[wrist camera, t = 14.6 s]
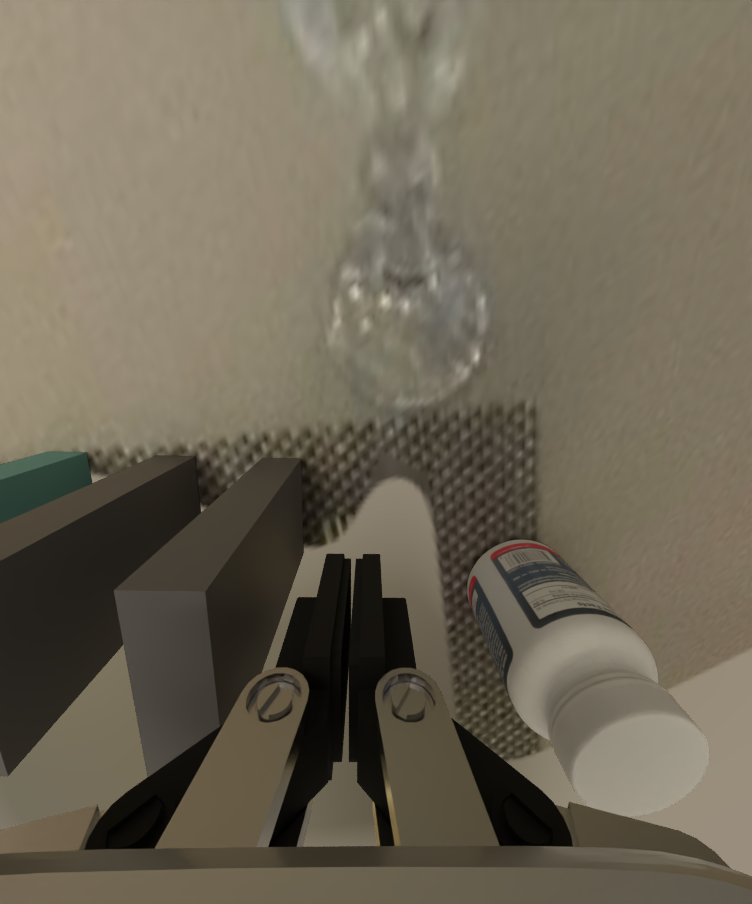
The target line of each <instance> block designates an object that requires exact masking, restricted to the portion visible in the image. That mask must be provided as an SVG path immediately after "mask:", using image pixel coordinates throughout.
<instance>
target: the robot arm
mask: <svg viewBox="0 0 752 904" xmlns="http://www.w3.org/2000/svg"><path fill="white" fill-rule="evenodd" d="M348 670H349V762H357V783H358V784H359V785H360V786H361V787H362V789H363V790H364V791H365V792H366V793H367V795H368V796H369V797H370V798H371V799H372V801H373V817H374V825H375V833H376V840H377V846H363V847H362V846H361V847H360V846H352V847H351V846H350V847H349V846H347V847H303V844H304V840H305V836H306V832H307V828H308V824H309V820H310V816H311V812H312V804H313V798H314V797H315V795H316V794H317V793H318V792H319V791H320V790H321V789H322V788H323V787H324V786H325V785H326V784H327V783H328V780H332V770H333V762H342V754H343V740H344V725H345V712H346V711H345V710H346V698H347V684H348ZM0 904H752V876H749V875H747V874H744V873H742V872H739V871H736V870H733V869H731V868H730V867H729V866H728V865H727V864H726V863H725V862H724V861H723V860H722V859H721V858H720V857H719V856H718V855H717V854H716V853H715V852H714V851H713V850H712V849H710V848H709V847H708V846H706V845H705V844H703V843H702V842H701V841H699V840H698V839H696V838H694V837H692V836H690V835H687V834H685V833H683V832H681V831H678V830H674V829H670V828H667V827H663V826H659V825H655V824H651V823H647V822H644V821H640V820H636V819H632V818H628V817H625V816H621V815H617V814H613V813H610V812H606V811H602V810H598V809H594V808H591V807H587V806H583V805H579V804H575V803H572V802H569V804H568V808H564V807H561V806H557V805H555V804H554V803H553V802H552V800H550V799H549V798H548V797H547V796H546V795H545V794H544V793H543V792H542V791H541V790H540V789H539V788H538V787H536V786H535V785H534V784H533V783H531V782H530V781H529V780H528V779H527V778H525V777H524V776H523V775H522V774H520V773H519V772H518V771H516V770H515V769H514V768H513V767H512V766H510V765H509V764H508V763H507V762H505V761H504V760H503V759H502V758H501V757H499V756H498V755H497V754H496V753H494V752H493V751H492V750H491V749H489V748H488V747H487V746H486V745H484V744H483V743H482V742H481V741H479V740H478V739H477V738H476V737H474V736H473V735H472V734H471V733H469V732H468V731H467V730H466V729H464V728H463V727H462V726H461V725H460V724H458V723H457V722H456V721H454V720H453V719H452V718H451V716H450V713H449V711H448V708H447V705H446V703H445V700H444V698H443V695H442V692H441V690H440V688H439V687H438V685H437V683H436V682H435V681H434V680H433V679H432V678H431V677H430V676H429V675H427V674H426V673H424V672H422V671H420V670H417V669H416V663H415V657H414V650H413V643H412V637H411V630H410V623H409V617H408V610H407V604H406V599H405V598H382V584H381V564H380V554H363V559H356V567H355V580H354V594H353V608H352V621H351V559H344V554H327V555H326V559H325V563H324V568H323V572H322V576H321V581H320V585H319V589H318V594H317V597H313V598H312V597H299V598H297V601H296V604H295V607H294V610H293V614H292V617H291V620H290V623H289V626H288V629H287V633H286V636H285V639H284V642H283V646H282V649H281V652H280V655H279V658H278V662H277V665H276V668H274V669H270V670H266V671H265V672H263V673H261V674H259V675H257V676H256V677H255V678H253V679H252V680H251V681H250V682H249V683H248V684H247V685H246V687H245V688H244V689H243V691H242V692H241V694H240V696H239V698H238V700H237V701H236V703H235V705H234V707H233V709H232V710H231V712H230V714H229V716H228V718H227V719H226V721H225V723H224V724H223V725H221V726H220V727H218V728H217V729H215V730H214V731H213V732H211V733H210V734H208V735H207V736H206V737H204V738H203V739H201V740H200V741H199V742H197V743H196V744H194V745H193V746H191V747H190V748H189V749H187V750H186V751H184V752H183V753H182V754H180V755H179V756H177V757H176V758H174V759H173V760H172V761H170V762H169V763H167V764H166V765H165V766H163V767H162V768H160V769H159V770H157V771H156V772H155V773H153V774H152V775H150V776H149V777H148V778H146V779H145V780H143V781H142V782H141V783H139V784H138V785H136V786H135V787H133V788H132V789H131V790H129V791H128V792H127V793H125V794H124V795H123V796H122V797H121V798H119V799H118V800H117V801H116V802H115V803H113V804H112V805H111V806H110V808H109V809H105V810H101V811H99V808H98V804H97V805H93V806H90V807H85V808H81V809H78V810H74V811H70V812H66V813H62V814H58V815H54V816H50V817H46V818H43V819H39V820H35V821H31V822H27V823H23V824H19V825H15V826H11V827H7V828H4V829H0Z"/></svg>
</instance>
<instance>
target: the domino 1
mask: <svg viewBox="0 0 752 904" xmlns="http://www.w3.org/2000/svg"><path fill="white" fill-rule="evenodd" d="M90 484H92V479H91V473H90V468H89V463H88V457H87V452H44V453H41V454H37V455H34V456H30V457H26V458H23V459H19V460H15V461H12V462H8V463H5V464H1V465H0V524H1V523H3V522H5V521H7V520H10V519H12V518H14V517H17V516H19V515H21V514H24V513H26V512H28V511H30V510H33V509H35V508H37V507H40V506H42V505H44V504H46V503H49V502H51V501H53V500H56V499H58V498H60V497H63V496H65V495H67V494H69V493H72V492H74V491H76V490H79V489H81V488H83V487H85V486H88V485H90Z"/></svg>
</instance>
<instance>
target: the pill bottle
mask: <svg viewBox="0 0 752 904" xmlns="http://www.w3.org/2000/svg"><path fill="white" fill-rule="evenodd" d="M467 595H468V600H469V603H470V605H471V608H472V611H473V613H474V615H475V618H476V620H477V623H478V625H479V627H480V630H481V632H482V634H483V637H484V639H485V641H486V644H487V646H488V649H489V651H490V653H491V655H492V658H493V660H494V662H495V665H496V667H497V670H498V672H499V674H500V676H501V679H502V681H503V683H504V686H505V688H506V690H507V693H508V695H509V697H510V699H511V701H512V703H513V705H514V707H515V709H516V711H517V713H518V714H519V716H520V717H521V718H522V720H523V721H524V722H525V723H526V724H527V725H528V726H529V727H530V728H531V729H532V730H533V731H535V732H536V733H538V734H539V735H541V736H542V737H544V738H546V739H548V740H550V742H551V745H552V746H553V749H554V751H555V754H556V756H557V758H558V759H559V761H560V763H561V765H562V767H563V769H564V771H565V773H566V775H567V777H568V779H569V781H570V783H571V785H572V787H573V789H574V791H575V792H576V794H577V795H578V796H579V798H580V799H581V800H582V801H583V802H584V803H585V804H587V805H588V806H589V807H591V808H594V809H598V810H602V811H606V812H610V813H613V814H617V815H621V816H625V817H633V816H641V815H646V814H650V813H654V812H657V811H660V810H663V809H665V808H667V807H669V806H671V805H673V804H675V803H676V802H678V801H680V800H681V799H683V798H684V797H685V796H687V795H688V794H689V793H690V792H691V791H692V790H693V789H694V788H695V787H696V786H697V785H698V783H699V782H700V780H701V779H702V777H703V776H704V774H705V772H706V769H707V766H708V762H709V757H710V756H709V746H708V742H707V740H706V737H705V735H704V734H703V732H702V731H701V729H700V728H699V727H698V726H697V725H696V723H694V721H693V720H692V719H691V718H690V717H689V715H688V714H687V713H686V712H685V711H684V710H683V709H682V708H681V707H680V705H679V704H678V703H677V702H676V700H675V699H674V698H673V696H672V695H671V694H670V693H669V692H668V691H667V690H665V689H664V688H662V687H661V686H660V685H659V684H658V673H657V668H656V664H655V661H654V658H653V656H652V654H651V652H650V650H649V648H648V647H647V645H646V644H645V642H644V641H643V640H642V639H641V638H640V637H639V636H638V634H637V633H636V632H635V631H634V630H633V629H632V628H631V627H630V626H629V625H628V624H627V623H626V622H625V621H624V620H623V619H622V618H621V617H620V616H619V615H618V614H617V613H616V612H615V611H614V610H613V609H612V608H611V607H610V606H609V605H608V604H607V603H606V602H605V601H604V600H603V599H602V598H601V597H600V596H599V595H598V594H597V593H596V592H595V591H594V590H593V589H592V588H591V587H590V586H589V585H588V584H587V583H586V582H585V581H584V580H583V579H582V578H581V577H580V576H579V575H578V574H577V573H576V572H575V571H574V570H573V569H572V568H571V567H570V566H569V565H568V564H567V563H566V562H565V561H564V560H563V559H562V558H561V557H560V556H559V555H558V554H557V553H556V552H555V551H554V550H552V549H551V548H549V547H548V546H546V545H544V544H542V543H539V542H536V541H532V540H511V541H507V542H504V543H501V544H499V545H496V546H494V547H493V548H491V549H490V550H488V551H487V552H486V553H484V554H483V555H482V556H481V557H480V558H479V559H478V561H477V562H476V563H475V565H474V567H473V568H472V570H471V572H470V575H469V578H468V583H467Z"/></svg>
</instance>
